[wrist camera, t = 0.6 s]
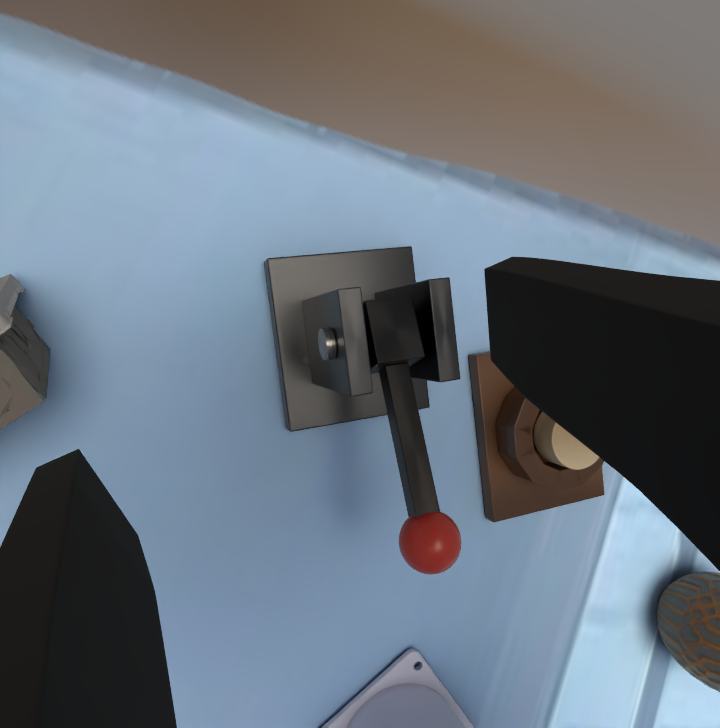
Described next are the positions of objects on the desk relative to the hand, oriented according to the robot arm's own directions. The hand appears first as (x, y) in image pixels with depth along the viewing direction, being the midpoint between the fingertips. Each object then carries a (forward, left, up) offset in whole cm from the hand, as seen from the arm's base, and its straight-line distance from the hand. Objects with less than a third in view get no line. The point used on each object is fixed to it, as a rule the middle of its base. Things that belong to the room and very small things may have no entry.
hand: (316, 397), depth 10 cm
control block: (-14, -13, -21) cm, 29 cm away
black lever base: (-3, -6, -21) cm, 22 cm away
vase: (-32, -15, -21) cm, 41 cm away
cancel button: (-14, -13, -19) cm, 27 cm away
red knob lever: (-7, -4, -15) cm, 17 cm away
